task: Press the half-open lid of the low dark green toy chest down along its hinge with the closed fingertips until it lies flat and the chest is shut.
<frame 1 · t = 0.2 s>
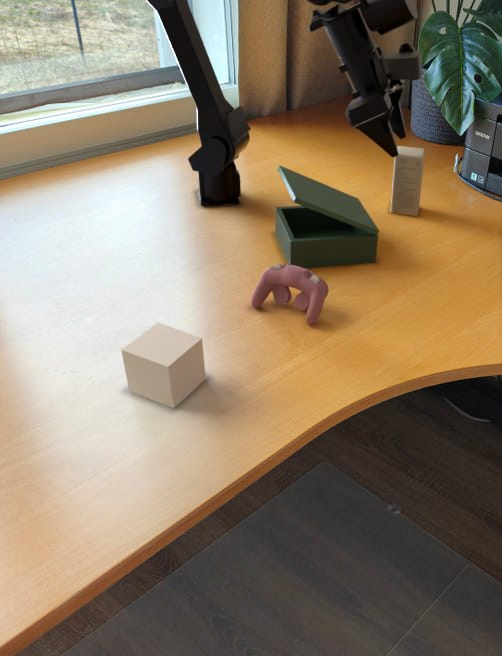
hand: (399, 146, 105), 15 cm above the table, tool tilted 30°, fingers open, 9 cm apart
lid: (328, 200, 101), point 8 cm above the table, hinge at 25.0°
toy chest: (324, 248, 106), on the table
box: (404, 210, 121), on the table
beige cube block: (168, 386, 77), on the table
video game controller: (290, 309, 92), on the table
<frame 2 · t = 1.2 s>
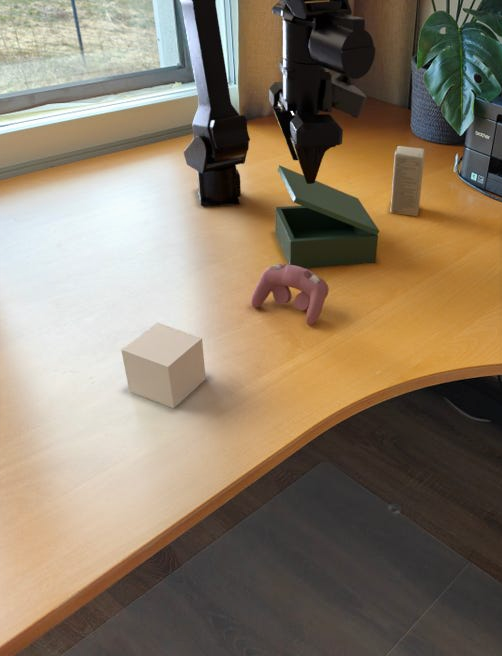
hand: (303, 171, 97), 13 cm above the table, tool pointing down, fingers open, 8 cm apart
nothing on the table moved.
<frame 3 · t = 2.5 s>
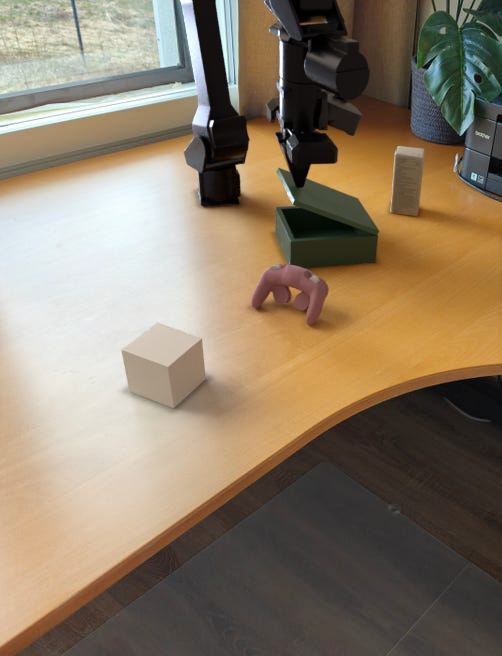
hand: (299, 186, 98), 11 cm above the table, tool pointing down, fingers closed, pressing on lid
lid: (327, 201, 101), point 8 cm above the table, hinge at 23.4°, touching gripper
everything else where it was.
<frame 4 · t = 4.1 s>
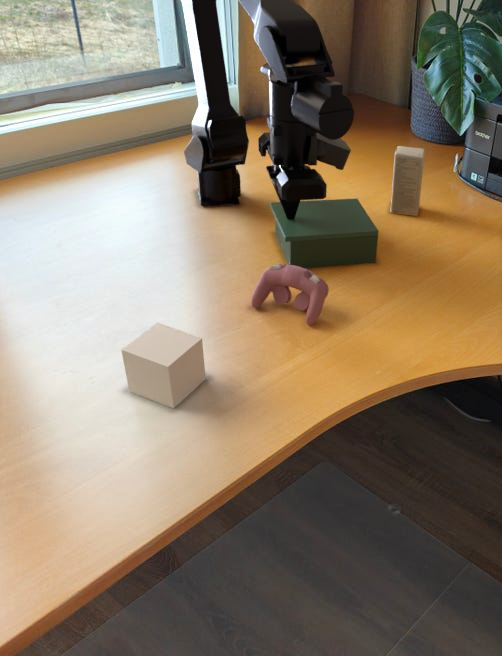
hand: (290, 218, 101), 6 cm above the table, tool pointing down, fingers closed, pressing on lid
lid: (323, 218, 103), point 5 cm above the table, hinge at -0.2°, touching gripper, toy chest
everything else where it was.
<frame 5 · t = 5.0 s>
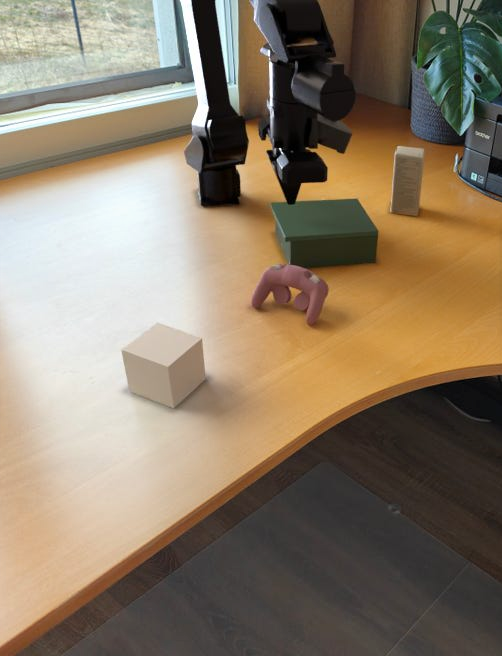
hand: (290, 203, 99), 8 cm above the table, tool pointing down, fingers closed
lid: (323, 218, 103), point 5 cm above the table, hinge at -0.2°, touching toy chest
everything else where it was.
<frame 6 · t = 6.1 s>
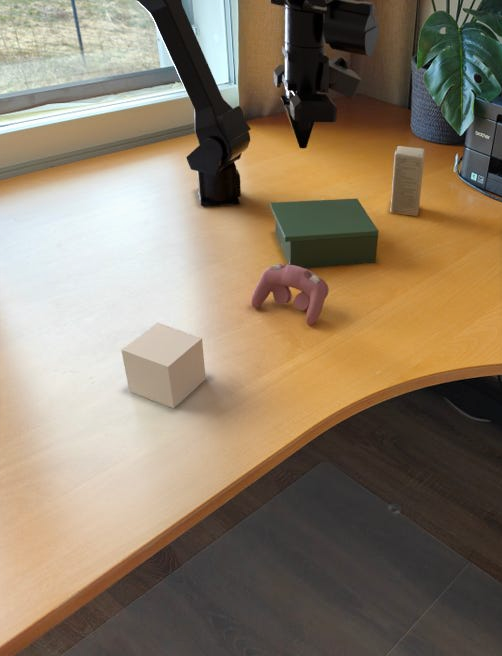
hand: (302, 147, 106), 13 cm above the table, tool pointing down, fingers closed
nothing on the table moved.
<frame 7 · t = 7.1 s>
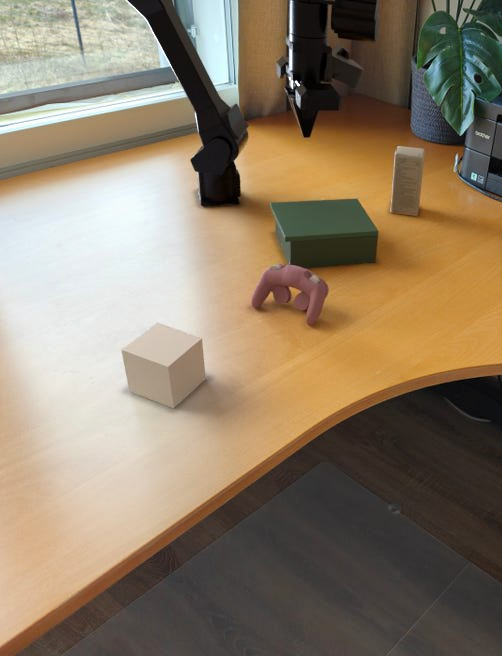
hand: (306, 136, 108), 13 cm above the table, tool pointing down, fingers closed
nothing on the table moved.
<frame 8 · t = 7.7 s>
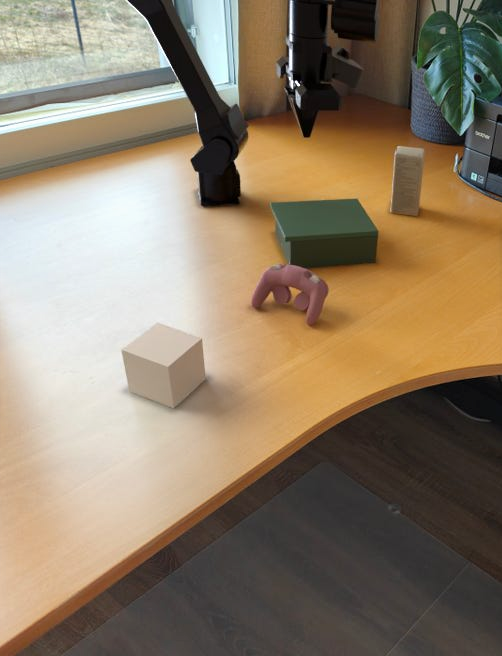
hand: (306, 136, 108), 13 cm above the table, tool pointing down, fingers closed
nothing on the table moved.
at the end: lid at +0° (first picture: +25°); the gripper is holding nothing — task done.
